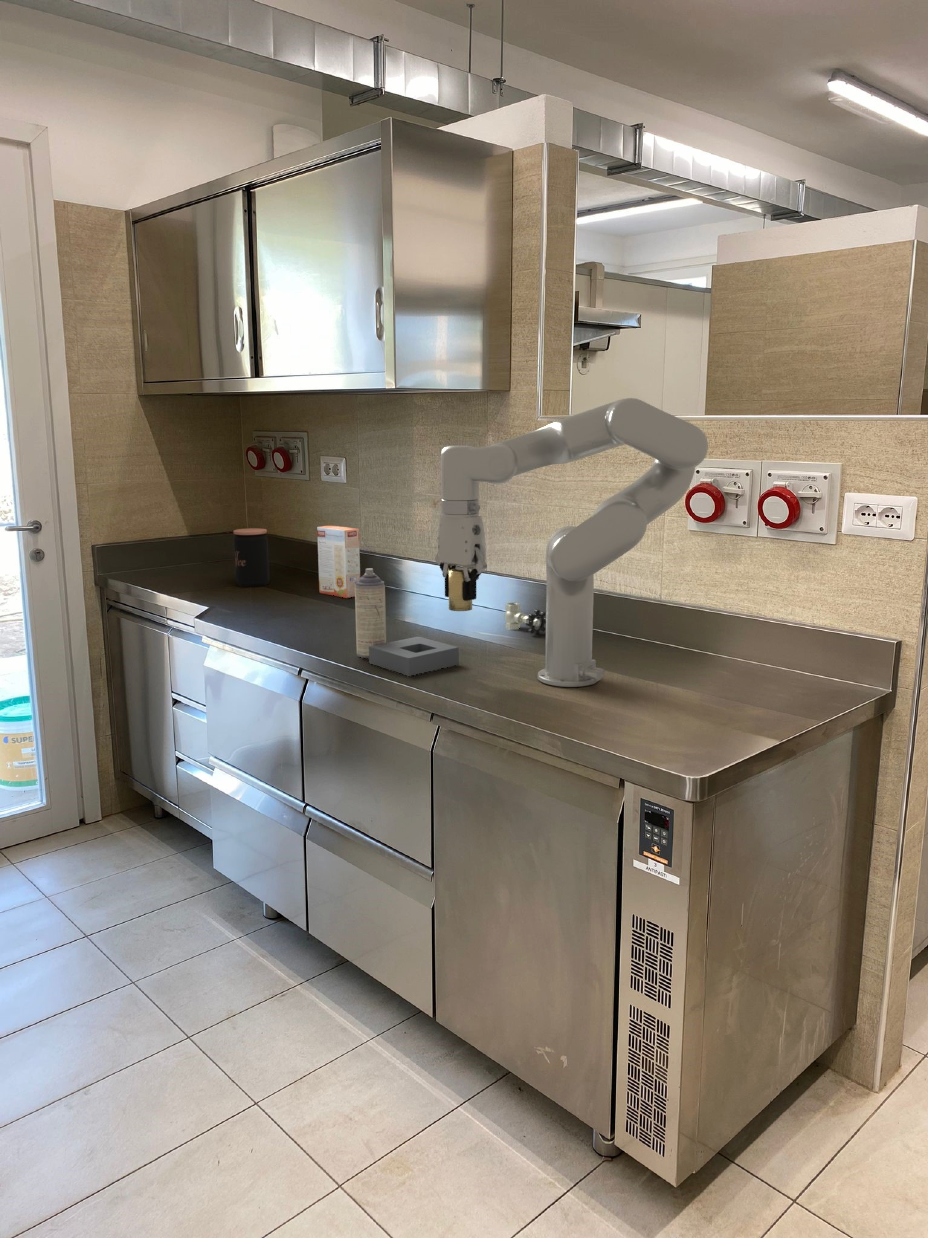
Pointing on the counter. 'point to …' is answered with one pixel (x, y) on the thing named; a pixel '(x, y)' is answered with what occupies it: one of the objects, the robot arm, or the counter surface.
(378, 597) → the aerosol can
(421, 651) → the block
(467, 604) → the brass bushing
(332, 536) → the cracker box
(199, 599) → the counter surface
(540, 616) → the valve
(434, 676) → the counter surface
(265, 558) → the coffee jar
